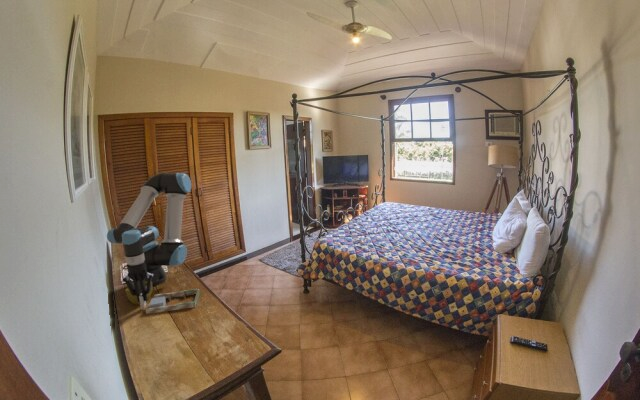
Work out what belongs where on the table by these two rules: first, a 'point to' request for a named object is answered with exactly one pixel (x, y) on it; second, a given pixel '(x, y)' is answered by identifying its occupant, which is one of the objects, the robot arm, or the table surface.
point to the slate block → (157, 302)
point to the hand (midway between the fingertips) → (143, 306)
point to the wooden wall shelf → (177, 306)
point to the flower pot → (134, 298)
